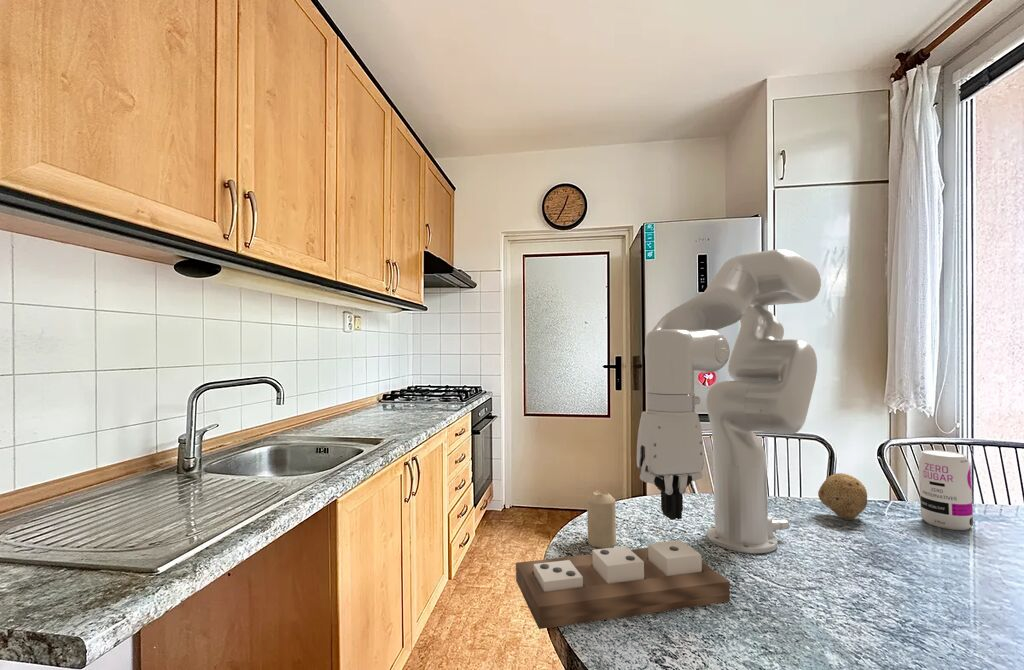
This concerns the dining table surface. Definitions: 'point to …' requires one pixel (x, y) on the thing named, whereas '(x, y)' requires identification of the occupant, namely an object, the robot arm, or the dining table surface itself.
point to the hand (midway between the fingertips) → (672, 516)
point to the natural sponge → (843, 495)
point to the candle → (601, 520)
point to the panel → (617, 592)
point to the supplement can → (946, 489)
